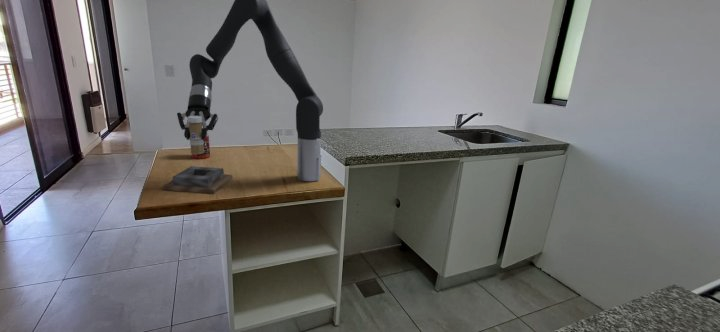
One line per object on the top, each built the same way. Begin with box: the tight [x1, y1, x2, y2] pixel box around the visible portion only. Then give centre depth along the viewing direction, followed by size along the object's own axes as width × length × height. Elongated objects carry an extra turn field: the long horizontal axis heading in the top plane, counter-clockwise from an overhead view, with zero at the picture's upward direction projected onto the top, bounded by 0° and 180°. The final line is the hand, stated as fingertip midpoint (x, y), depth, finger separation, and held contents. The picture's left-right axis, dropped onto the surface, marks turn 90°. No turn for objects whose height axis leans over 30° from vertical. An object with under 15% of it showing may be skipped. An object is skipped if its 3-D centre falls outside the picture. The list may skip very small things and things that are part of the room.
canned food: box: [191, 132, 211, 160], centre depth 155 cm, size 8×8×11 cm
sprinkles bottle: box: [187, 116, 204, 155], centre depth 119 cm, size 5×5×14 cm
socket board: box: [162, 165, 234, 194], centre depth 124 cm, size 18×16×4 cm
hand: (195, 138), depth 118 cm, fingers closed on sprinkles bottle, 4 cm apart
